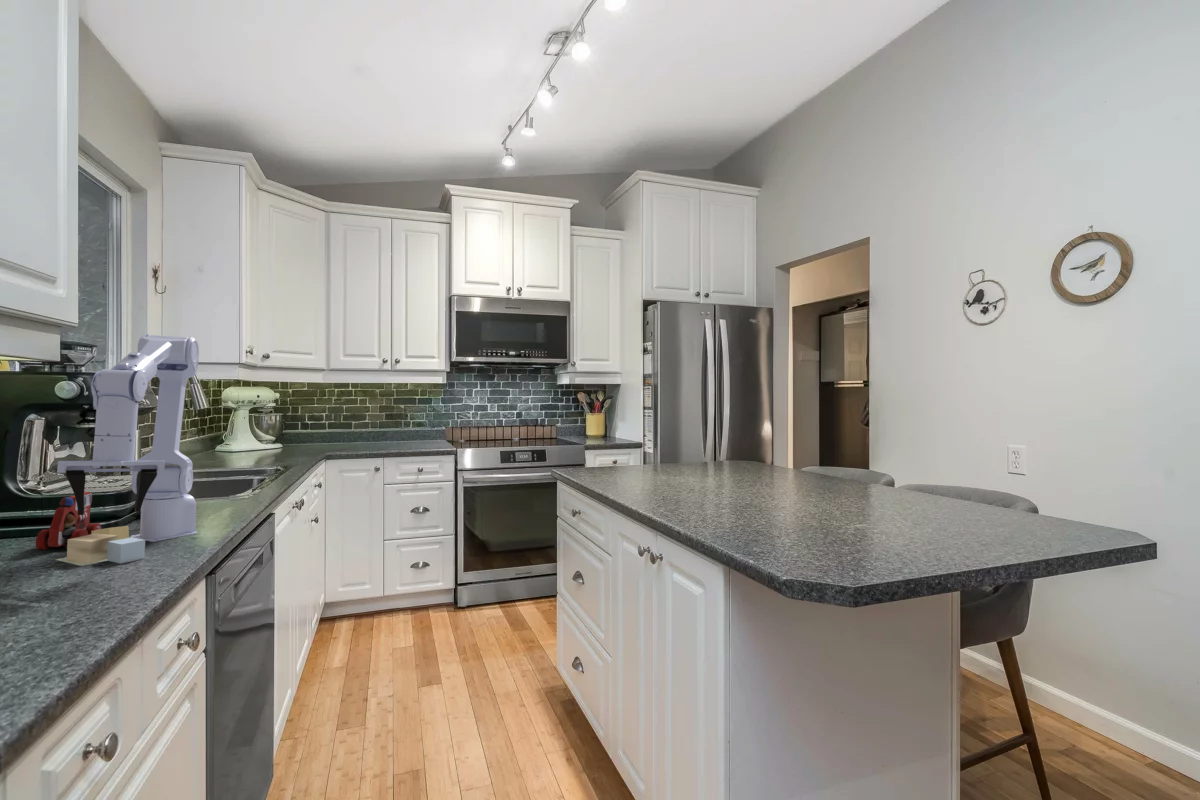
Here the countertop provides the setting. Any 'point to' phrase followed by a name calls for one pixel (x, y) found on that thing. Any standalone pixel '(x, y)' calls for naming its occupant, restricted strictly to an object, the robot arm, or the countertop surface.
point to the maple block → (89, 548)
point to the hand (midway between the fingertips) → (109, 513)
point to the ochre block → (114, 531)
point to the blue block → (126, 550)
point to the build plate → (76, 562)
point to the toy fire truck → (67, 524)
